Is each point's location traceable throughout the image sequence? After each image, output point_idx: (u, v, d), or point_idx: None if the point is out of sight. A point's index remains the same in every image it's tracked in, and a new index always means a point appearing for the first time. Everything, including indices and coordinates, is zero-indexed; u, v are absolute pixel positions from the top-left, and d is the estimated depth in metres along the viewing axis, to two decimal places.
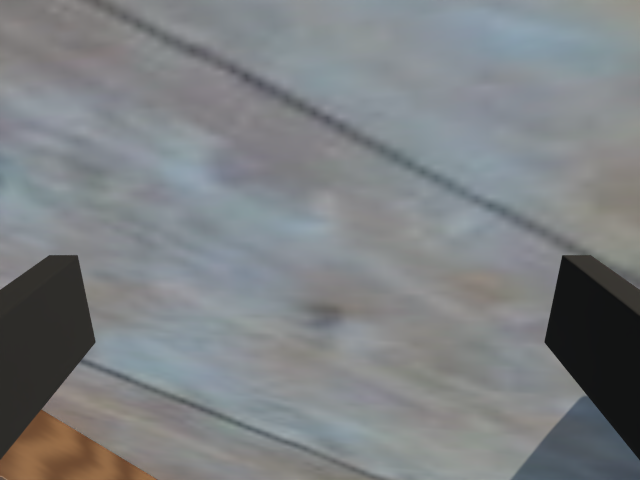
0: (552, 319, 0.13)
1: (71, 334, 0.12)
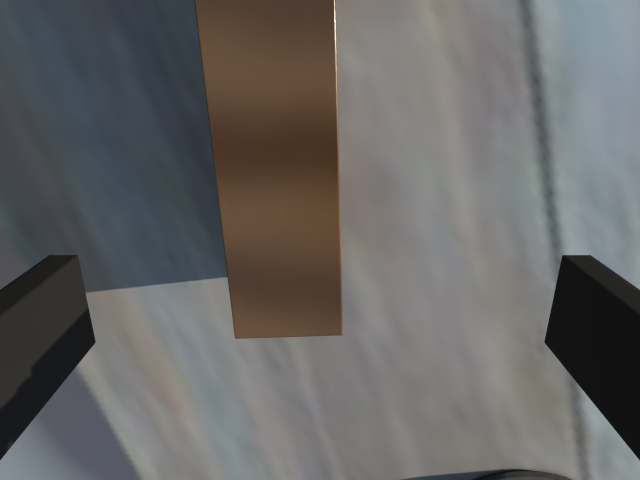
0: (552, 319, 0.13)
1: (71, 334, 0.12)
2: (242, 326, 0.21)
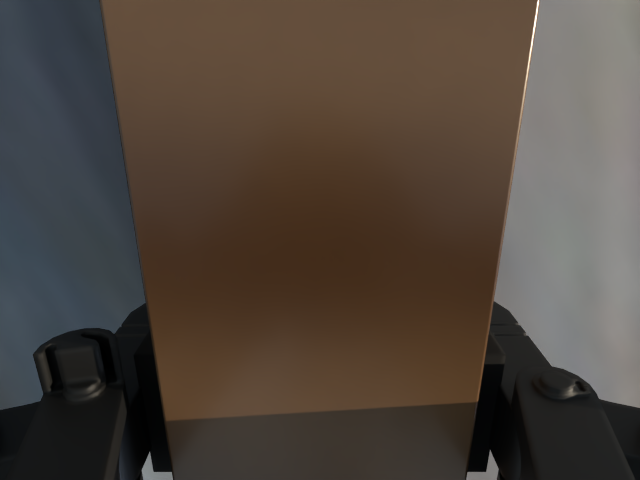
0: None
1: None
2: None
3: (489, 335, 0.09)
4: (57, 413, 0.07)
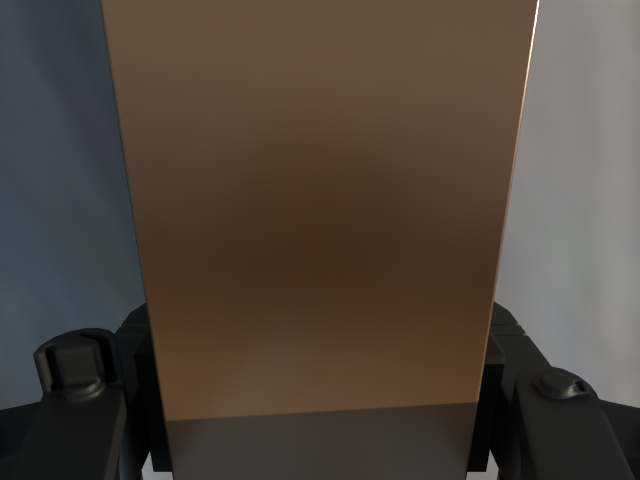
0: None
1: None
2: None
3: (489, 335, 0.09)
4: (57, 413, 0.07)
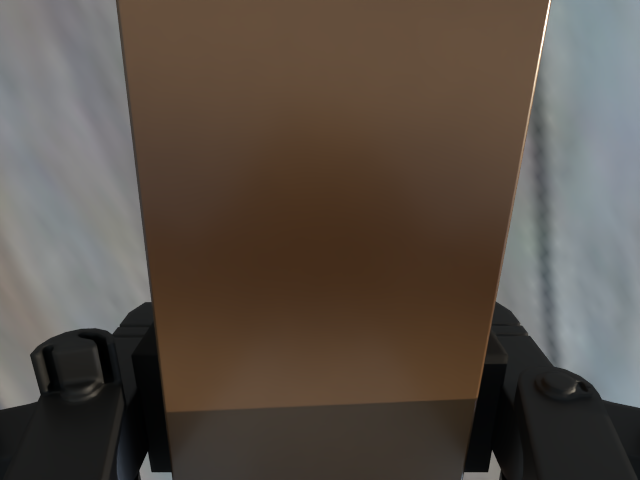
0: None
1: None
2: None
3: (491, 335, 0.09)
4: (54, 414, 0.07)
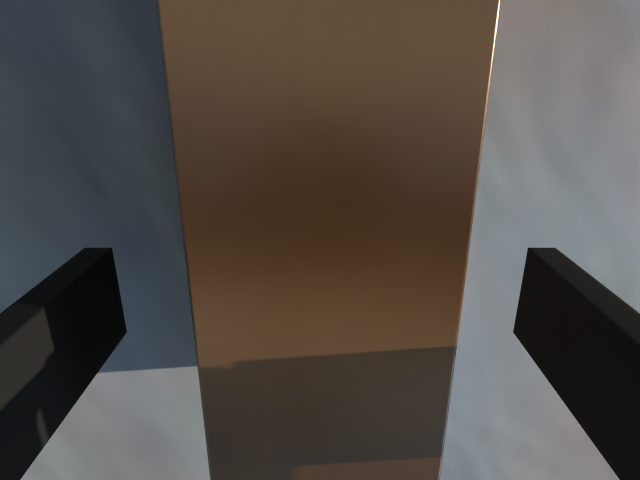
0: (519, 309, 0.13)
1: (107, 323, 0.12)
2: None
3: None
4: None
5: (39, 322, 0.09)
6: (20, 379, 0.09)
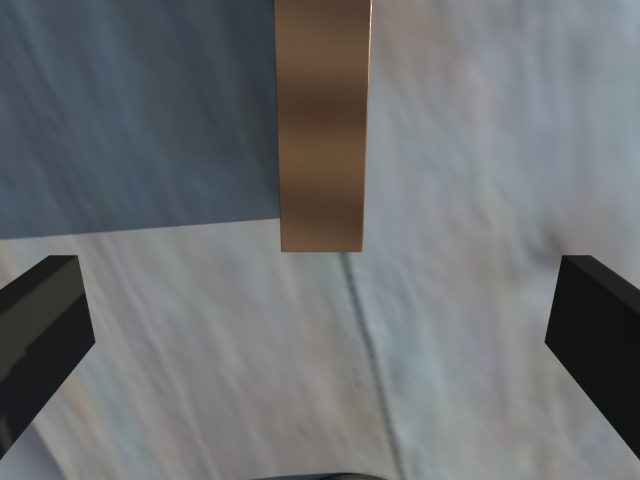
0: (552, 319, 0.13)
1: (71, 334, 0.12)
2: (287, 241, 0.28)
3: None
4: None
5: None
6: None
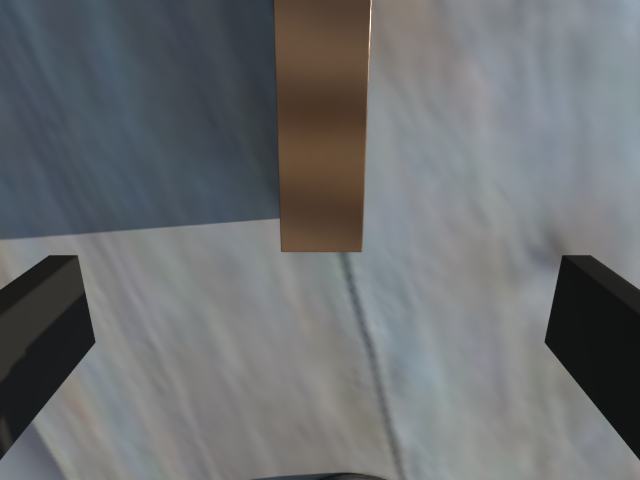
0: (552, 319, 0.13)
1: (71, 334, 0.12)
2: (287, 241, 0.28)
3: None
4: None
5: None
6: None
